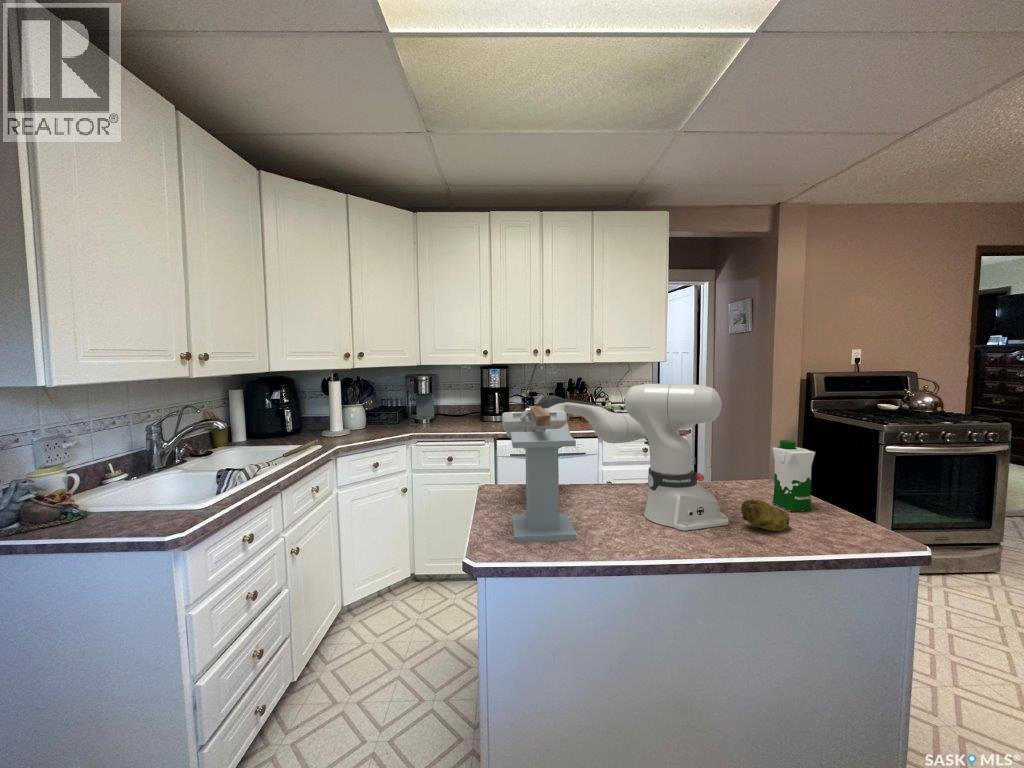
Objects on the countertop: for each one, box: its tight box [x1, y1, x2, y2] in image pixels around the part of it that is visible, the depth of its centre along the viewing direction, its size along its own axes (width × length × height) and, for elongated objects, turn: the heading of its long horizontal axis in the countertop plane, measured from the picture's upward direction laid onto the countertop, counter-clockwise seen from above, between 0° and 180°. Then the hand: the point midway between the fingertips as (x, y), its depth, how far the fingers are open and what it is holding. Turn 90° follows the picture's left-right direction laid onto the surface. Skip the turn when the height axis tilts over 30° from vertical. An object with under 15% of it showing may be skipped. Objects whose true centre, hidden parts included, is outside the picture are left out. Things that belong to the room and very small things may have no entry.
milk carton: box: [772, 439, 816, 512], centre depth 122 cm, size 9×9×20 cm
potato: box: [740, 498, 791, 532], centre depth 108 cm, size 8×13×8 cm, turn 82°
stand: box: [509, 431, 578, 543], centre depth 109 cm, size 16×14×26 cm
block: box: [528, 405, 551, 426], centre depth 113 cm, size 4×22×2 cm, turn 3°
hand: (536, 410), depth 119 cm, fingers closed on block, 3 cm apart
